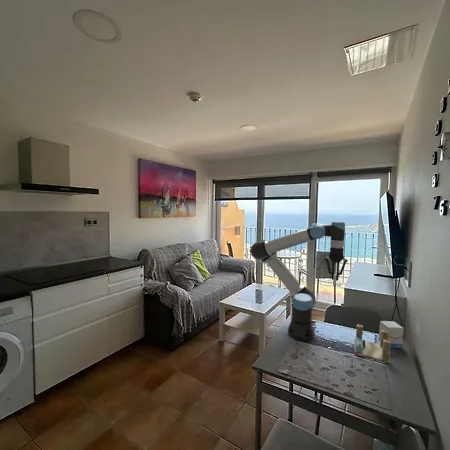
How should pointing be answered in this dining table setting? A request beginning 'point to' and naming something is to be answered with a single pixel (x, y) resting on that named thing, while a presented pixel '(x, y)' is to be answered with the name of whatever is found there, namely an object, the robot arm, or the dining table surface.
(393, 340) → the ink box
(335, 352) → the dining table surface
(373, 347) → the stool seat
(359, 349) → the hinged leg
